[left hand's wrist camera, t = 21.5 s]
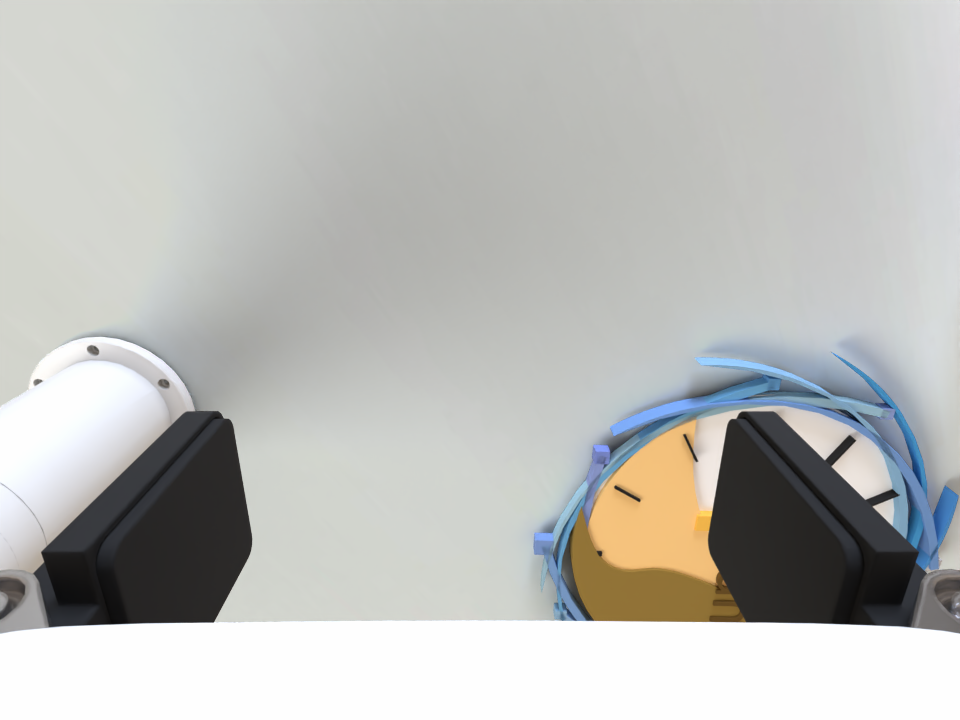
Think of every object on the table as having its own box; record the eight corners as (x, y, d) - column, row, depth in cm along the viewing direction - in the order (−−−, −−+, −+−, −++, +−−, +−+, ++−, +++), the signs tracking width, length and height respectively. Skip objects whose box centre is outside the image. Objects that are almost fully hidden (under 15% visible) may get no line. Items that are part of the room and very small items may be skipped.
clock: (548, 341, 45) (551, 350, 44) (1002, 353, 46) (1025, 363, 44) (523, 674, 58) (524, 693, 56) (879, 681, 58) (892, 700, 57)
